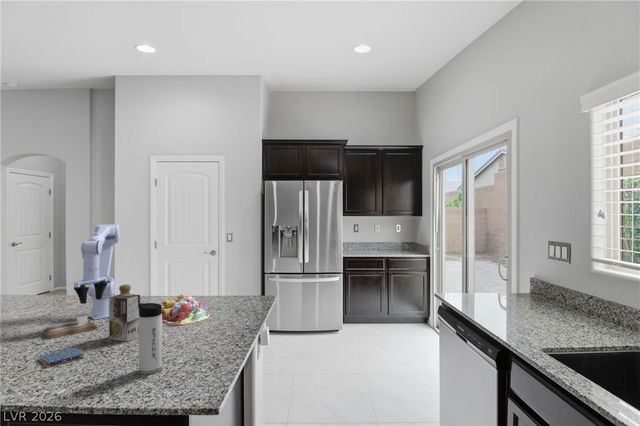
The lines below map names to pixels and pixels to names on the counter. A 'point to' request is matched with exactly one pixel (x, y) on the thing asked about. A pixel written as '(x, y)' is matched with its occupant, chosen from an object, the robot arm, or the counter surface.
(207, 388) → the counter surface
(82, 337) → the counter surface
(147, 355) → the travel mug
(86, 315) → the fader knob
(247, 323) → the counter surface
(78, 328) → the fader board
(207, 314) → the candy landscape model
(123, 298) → the coffee box
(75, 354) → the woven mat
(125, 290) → the cork
